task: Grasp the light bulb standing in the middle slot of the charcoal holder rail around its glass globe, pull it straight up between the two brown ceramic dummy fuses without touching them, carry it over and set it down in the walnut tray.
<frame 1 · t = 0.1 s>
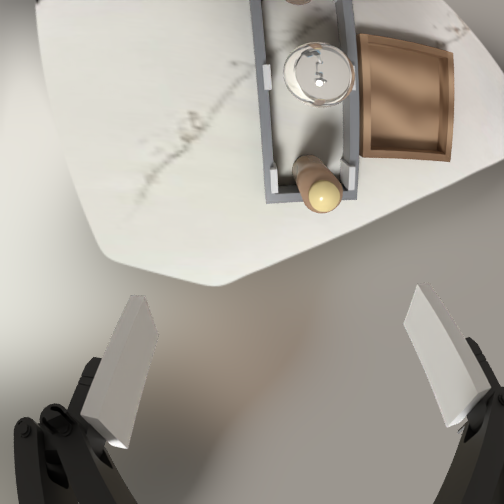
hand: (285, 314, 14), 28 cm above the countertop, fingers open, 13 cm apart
tray: (402, 98, 32), on the countertop
light bulb: (304, 77, 31), resting in holder
holder: (305, 77, 31), on the countertop
fuse 1: (308, 170, 38), resting in holder
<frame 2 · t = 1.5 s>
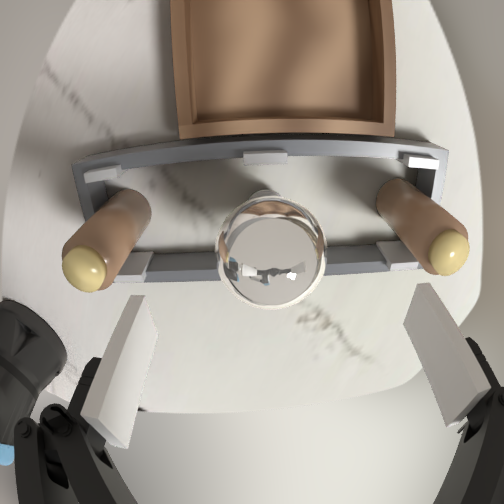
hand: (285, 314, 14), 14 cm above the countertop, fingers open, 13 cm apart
tray: (284, 44, 18), on the countertop
fuse 2: (129, 211, 26), resting in holder
light bulb: (264, 201, 26), resting in holder
holder: (265, 202, 26), on the countertop
fuse 1: (396, 200, 25), resting in holder
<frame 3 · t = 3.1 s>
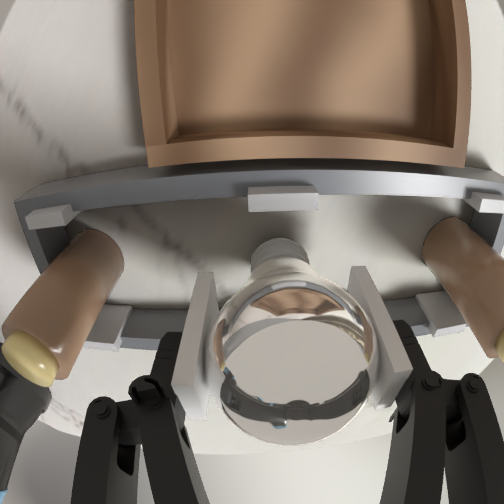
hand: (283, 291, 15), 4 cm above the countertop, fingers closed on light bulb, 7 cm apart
tray: (310, 21, 11), on the countertop
fuse 2: (96, 257, 19), resting in holder
light bulb: (277, 248, 19), resting in holder, touching gripper
holder: (277, 250, 18), on the countertop
fuse 1: (446, 244, 18), resting in holder
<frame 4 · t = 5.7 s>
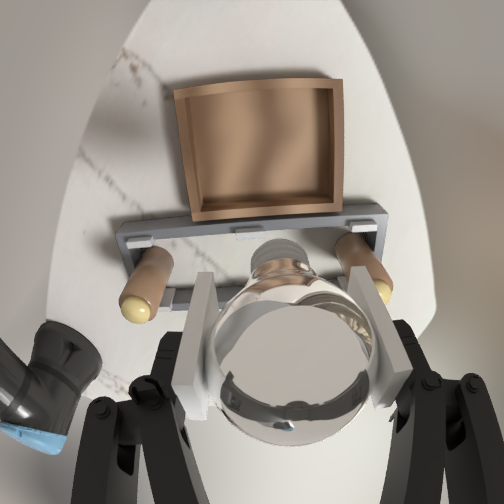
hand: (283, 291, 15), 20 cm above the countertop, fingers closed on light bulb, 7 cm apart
tray: (262, 144, 30), on the countertop
fuse 2: (157, 261, 37), resting in holder
light bulb: (277, 249, 19), point 15 cm above the countertop, touching gripper
holder: (253, 254, 37), on the countertop
fuse 1: (351, 247, 36), resting in holder
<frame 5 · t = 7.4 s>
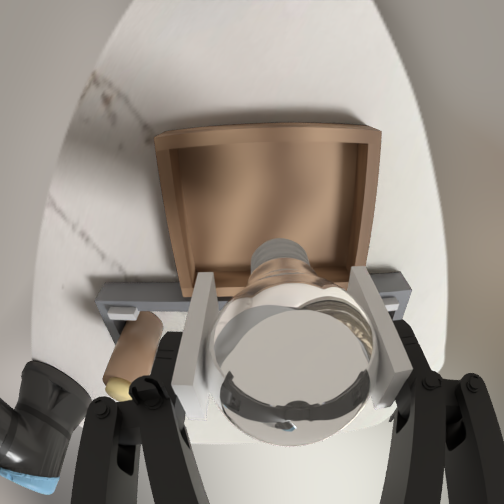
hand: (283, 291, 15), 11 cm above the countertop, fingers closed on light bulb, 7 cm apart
tray: (270, 206, 25), on the countertop
fuse 2: (145, 323, 32), resting in holder
light bulb: (277, 249, 19), point 7 cm above the countertop, touching gripper
holder: (253, 323, 32), on the countertop
when the fingers open (6 cm above the countertop, at t = 8.8 s): light bulb drops 1 cm, resting on tray.
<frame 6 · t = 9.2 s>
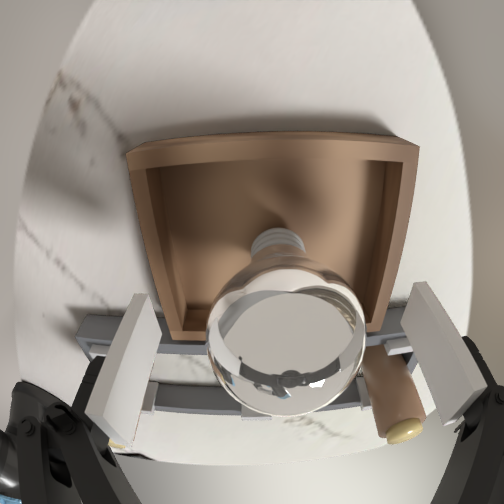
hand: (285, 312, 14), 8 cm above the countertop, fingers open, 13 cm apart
tray: (276, 235, 20), on the countertop
light bulb: (276, 239, 20), resting on tray
holder: (254, 361, 27), on the countertop
fuse 1: (378, 351, 27), resting in holder
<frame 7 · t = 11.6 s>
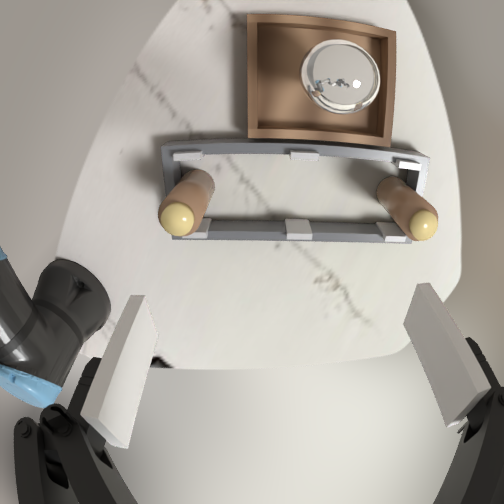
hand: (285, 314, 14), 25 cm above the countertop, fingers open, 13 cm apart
tray: (320, 78, 28), on the countertop
fuse 2: (197, 186, 36), resting in holder
light bulb: (320, 78, 28), resting on tray
holder: (298, 186, 36), on the countertop
fuse 1: (391, 192, 35), resting in holder
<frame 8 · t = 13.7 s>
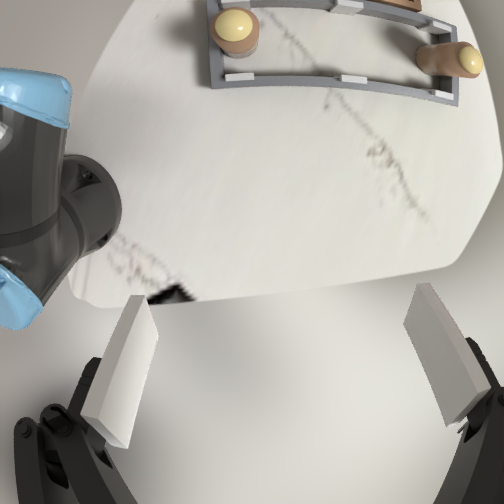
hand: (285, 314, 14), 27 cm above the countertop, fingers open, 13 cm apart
fuse 2: (239, 42, 28), resting in holder
holder: (343, 44, 28), on the countertop
fuse 1: (428, 60, 27), resting in holder
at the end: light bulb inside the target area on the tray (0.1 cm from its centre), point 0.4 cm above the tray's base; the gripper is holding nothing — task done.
